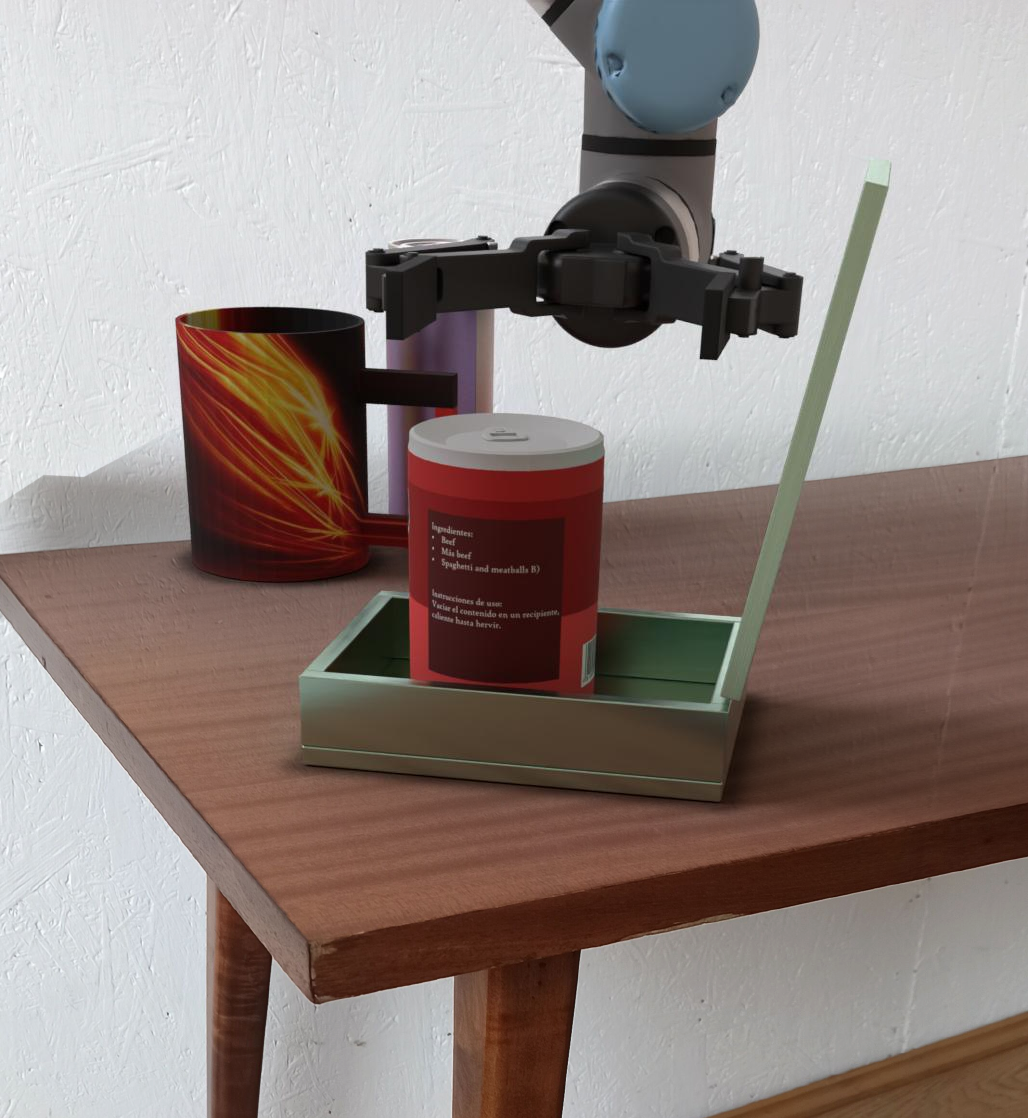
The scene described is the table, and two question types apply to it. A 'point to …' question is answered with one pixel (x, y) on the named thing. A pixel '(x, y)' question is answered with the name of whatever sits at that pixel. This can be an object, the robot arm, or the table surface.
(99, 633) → the table surface
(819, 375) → the pale green long bar
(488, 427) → the canned food
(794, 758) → the table surface
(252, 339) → the mug
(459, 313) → the beverage can
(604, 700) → the green open box
